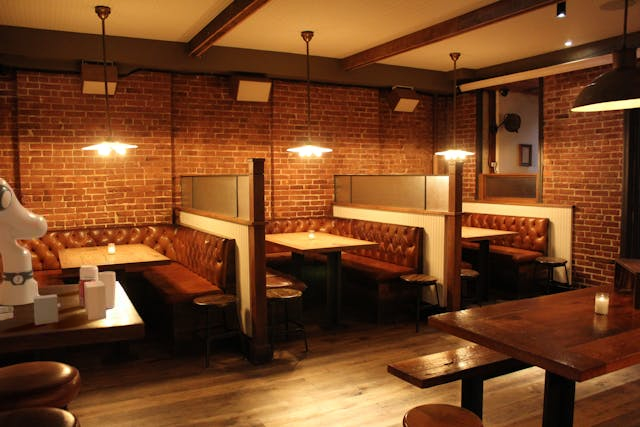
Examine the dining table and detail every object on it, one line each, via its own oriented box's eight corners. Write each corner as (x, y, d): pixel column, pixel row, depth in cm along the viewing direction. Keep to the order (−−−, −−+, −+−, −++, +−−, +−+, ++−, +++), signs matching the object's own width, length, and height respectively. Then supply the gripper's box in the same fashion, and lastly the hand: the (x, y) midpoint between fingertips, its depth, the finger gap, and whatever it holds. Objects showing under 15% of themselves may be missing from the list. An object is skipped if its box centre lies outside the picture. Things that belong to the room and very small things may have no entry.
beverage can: (102, 289, 270) (101, 264, 269) (91, 292, 262) (90, 267, 261) (87, 288, 271) (86, 264, 270) (77, 291, 264) (75, 267, 263)
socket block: (85, 313, 225) (84, 282, 223) (102, 311, 228) (101, 280, 227) (88, 320, 215) (87, 287, 214) (106, 317, 218) (105, 285, 217)
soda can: (100, 303, 241) (99, 276, 240) (91, 307, 234) (90, 280, 233) (84, 303, 241) (83, 276, 240) (76, 307, 234) (74, 279, 233)
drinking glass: (107, 305, 238) (106, 270, 237) (120, 306, 236) (118, 271, 235) (96, 308, 232) (94, 273, 231) (108, 310, 230) (107, 274, 228)
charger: (34, 322, 213) (33, 296, 212) (60, 318, 217) (59, 294, 216) (35, 325, 209) (33, 299, 208) (61, 321, 213) (60, 296, 212)
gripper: (-33, 315, 191) (12, 310, 198) (-29, 302, 209) (13, 297, 216) (-32, 332, 192) (13, 327, 198) (-28, 318, 210) (13, 313, 216)
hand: (13, 311), depth 207 cm, fingers open, 8 cm apart
